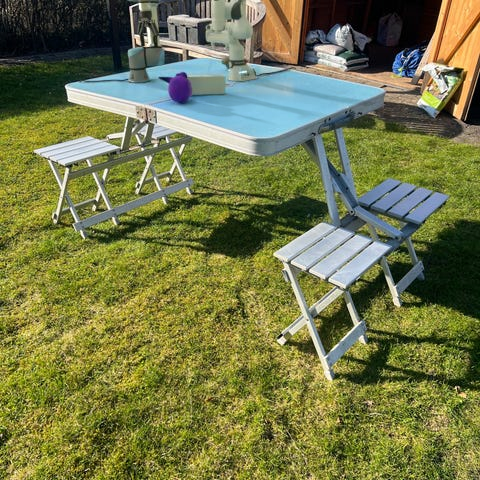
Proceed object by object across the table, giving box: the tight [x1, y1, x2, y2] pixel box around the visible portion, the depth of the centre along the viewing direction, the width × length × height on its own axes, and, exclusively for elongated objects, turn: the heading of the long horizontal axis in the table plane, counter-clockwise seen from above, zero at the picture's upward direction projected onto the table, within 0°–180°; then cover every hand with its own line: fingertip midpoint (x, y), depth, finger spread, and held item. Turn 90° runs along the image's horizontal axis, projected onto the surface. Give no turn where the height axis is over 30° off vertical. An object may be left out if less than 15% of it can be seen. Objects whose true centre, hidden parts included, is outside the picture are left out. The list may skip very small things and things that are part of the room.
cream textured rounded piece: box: [221, 54, 230, 71], centre depth 369 cm, size 21×12×15 cm, turn 120°
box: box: [187, 74, 227, 96], centre depth 293 cm, size 26×6×11 cm, turn 106°
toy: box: [158, 71, 193, 103], centre depth 279 cm, size 16×18×27 cm
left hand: (149, 47), depth 290 cm, fingers open, 13 cm apart
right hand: (220, 50), depth 286 cm, fingers open, 8 cm apart
